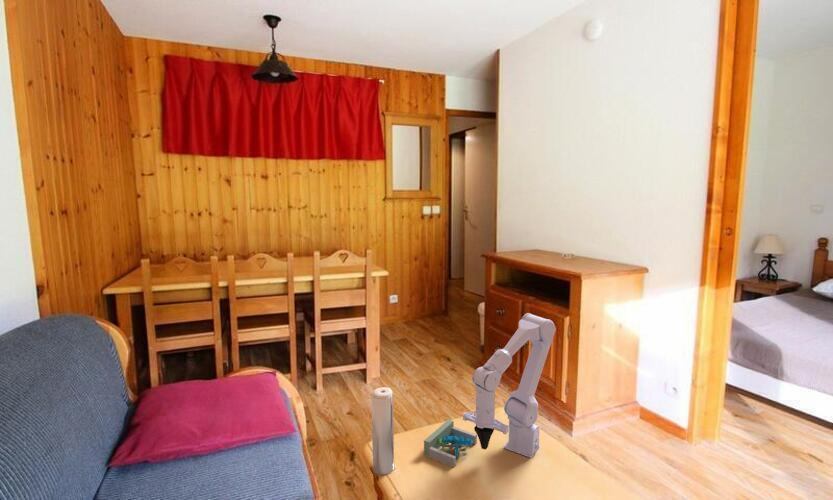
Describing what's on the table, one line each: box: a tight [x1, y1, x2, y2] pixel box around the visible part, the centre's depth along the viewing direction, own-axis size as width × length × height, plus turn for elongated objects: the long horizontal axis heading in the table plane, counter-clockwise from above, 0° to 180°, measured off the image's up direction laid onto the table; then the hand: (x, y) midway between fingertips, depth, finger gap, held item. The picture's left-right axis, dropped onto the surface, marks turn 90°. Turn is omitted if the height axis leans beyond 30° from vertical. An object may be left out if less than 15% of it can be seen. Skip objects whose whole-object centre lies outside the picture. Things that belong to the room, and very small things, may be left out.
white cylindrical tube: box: [370, 386, 395, 476], centre depth 127 cm, size 6×6×25 cm
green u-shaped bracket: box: [423, 419, 478, 468], centre depth 138 cm, size 11×15×5 cm
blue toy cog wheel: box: [438, 435, 473, 459], centre depth 136 cm, size 11×6×10 cm
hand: (484, 447), depth 131 cm, fingers closed
